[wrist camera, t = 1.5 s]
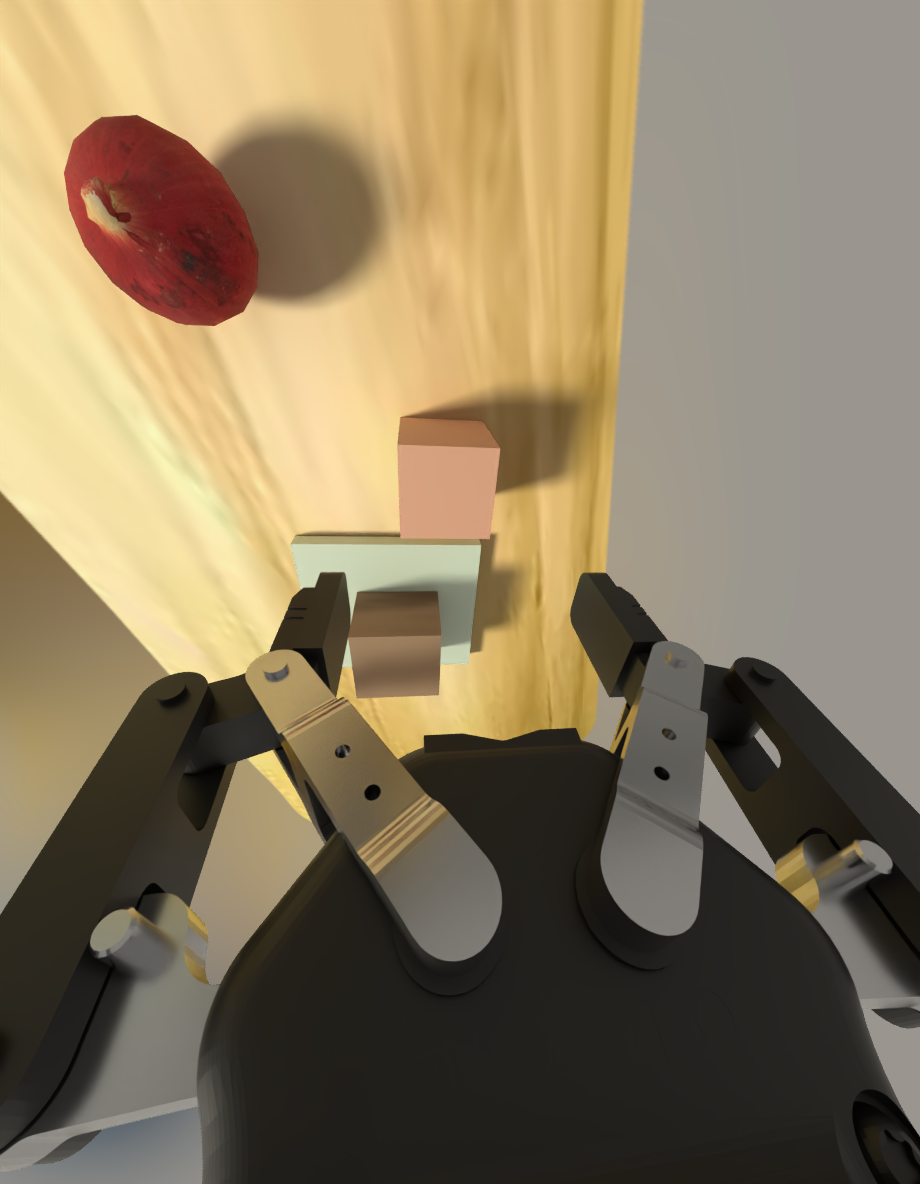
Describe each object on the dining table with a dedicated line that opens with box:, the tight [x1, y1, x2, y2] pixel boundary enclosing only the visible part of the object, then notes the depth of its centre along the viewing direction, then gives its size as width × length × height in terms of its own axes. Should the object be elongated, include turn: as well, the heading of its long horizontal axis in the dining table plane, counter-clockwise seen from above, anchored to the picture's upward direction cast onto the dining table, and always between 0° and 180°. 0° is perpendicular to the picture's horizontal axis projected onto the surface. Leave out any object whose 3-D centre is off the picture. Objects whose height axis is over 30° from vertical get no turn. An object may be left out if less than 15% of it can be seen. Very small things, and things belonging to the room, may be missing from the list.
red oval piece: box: [64, 115, 258, 326], centre depth 15 cm, size 6×6×8 cm
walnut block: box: [348, 591, 442, 698], centre depth 29 cm, size 6×6×5 cm
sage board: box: [291, 536, 481, 667], centre depth 31 cm, size 12×13×1 cm
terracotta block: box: [398, 417, 500, 539], centre depth 22 cm, size 5×5×6 cm
